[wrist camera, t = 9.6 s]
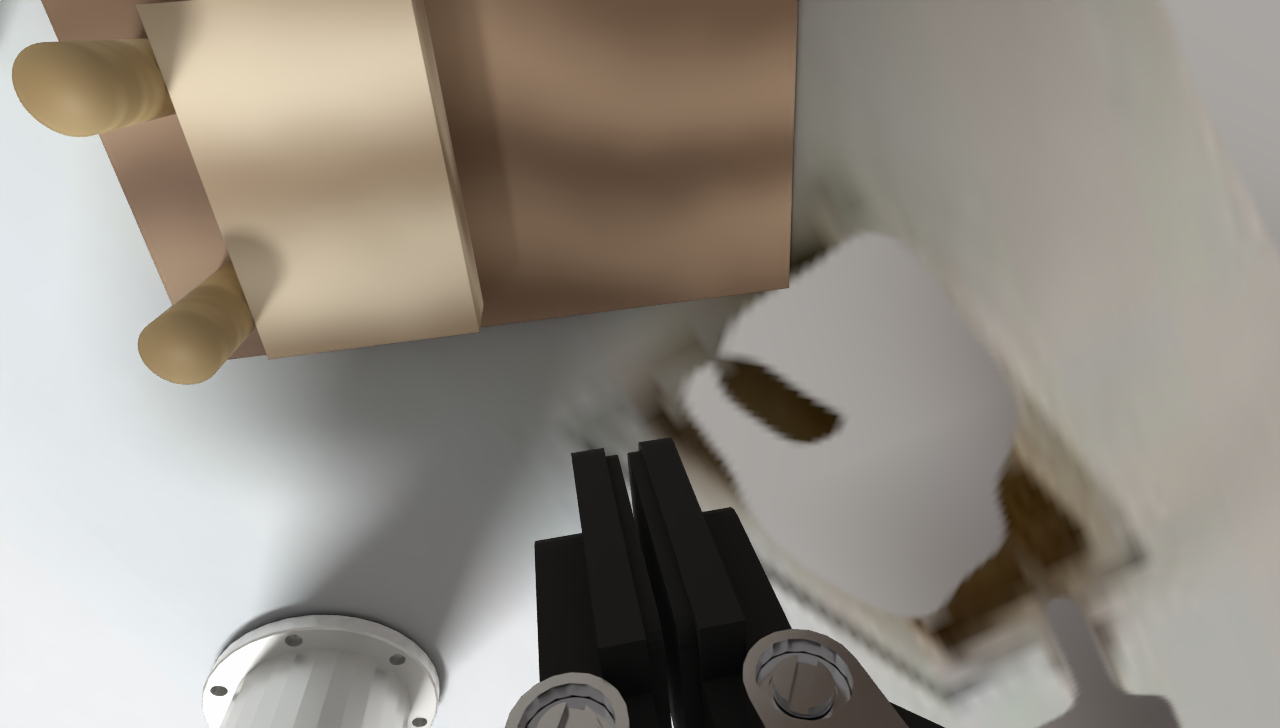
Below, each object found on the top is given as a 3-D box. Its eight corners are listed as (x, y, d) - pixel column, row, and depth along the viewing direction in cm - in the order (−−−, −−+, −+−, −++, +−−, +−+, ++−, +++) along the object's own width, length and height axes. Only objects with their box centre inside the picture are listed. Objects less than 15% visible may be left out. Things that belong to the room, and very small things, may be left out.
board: (781, 280, 32) (843, 342, 26) (207, 353, 29) (122, 441, 23) (790, -68, 25) (875, -97, 19) (53, -14, 23) (-123, -28, 17)
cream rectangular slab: (483, 303, 29) (479, 332, 26) (292, 327, 28) (268, 359, 26) (421, -13, 23) (407, -17, 21) (181, 7, 23) (135, 4, 20)
